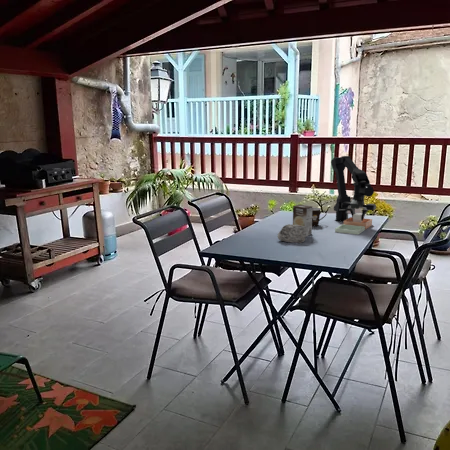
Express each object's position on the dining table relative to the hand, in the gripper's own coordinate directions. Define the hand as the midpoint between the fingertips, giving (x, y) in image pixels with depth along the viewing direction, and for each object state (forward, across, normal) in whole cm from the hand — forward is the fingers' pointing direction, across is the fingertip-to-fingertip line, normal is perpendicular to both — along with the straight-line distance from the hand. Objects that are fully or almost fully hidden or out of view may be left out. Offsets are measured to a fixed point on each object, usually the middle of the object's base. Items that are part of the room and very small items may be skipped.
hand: (357, 220), depth 269 cm
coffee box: (+4, -21, -32) cm, 38 cm away
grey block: (+1, 0, 0) cm, 1 cm away
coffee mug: (+4, -23, -8) cm, 25 cm away
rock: (+4, -20, -47) cm, 51 cm away
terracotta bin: (+4, 0, 0) cm, 4 cm away
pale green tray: (+4, 0, -14) cm, 15 cm away
